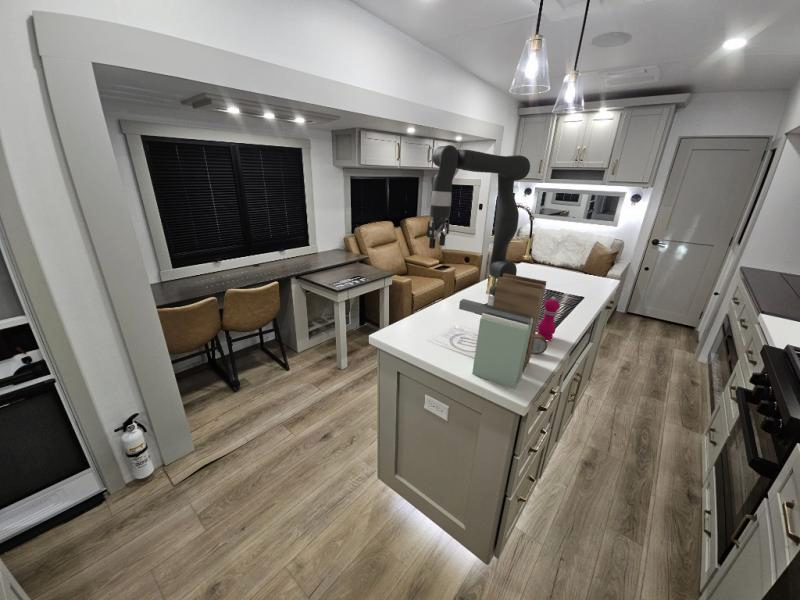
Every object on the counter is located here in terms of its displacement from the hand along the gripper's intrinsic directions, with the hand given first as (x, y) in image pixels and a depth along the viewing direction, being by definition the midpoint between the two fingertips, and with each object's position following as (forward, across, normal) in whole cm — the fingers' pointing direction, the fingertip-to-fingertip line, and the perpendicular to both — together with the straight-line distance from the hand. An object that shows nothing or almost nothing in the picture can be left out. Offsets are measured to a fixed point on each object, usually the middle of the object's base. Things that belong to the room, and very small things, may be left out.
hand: (437, 246), depth 125 cm
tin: (+40, +14, -38) cm, 57 cm away
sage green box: (+40, -11, -34) cm, 53 cm away
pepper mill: (+40, +33, -42) cm, 67 cm away
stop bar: (+18, -11, -29) cm, 36 cm away
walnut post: (+40, +2, -34) cm, 52 cm away
